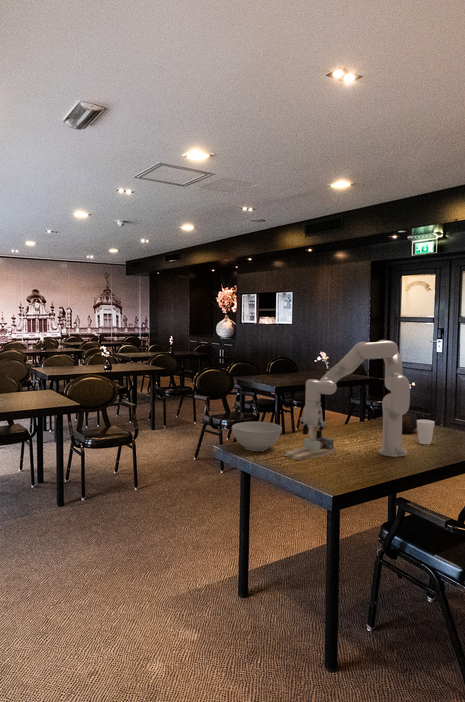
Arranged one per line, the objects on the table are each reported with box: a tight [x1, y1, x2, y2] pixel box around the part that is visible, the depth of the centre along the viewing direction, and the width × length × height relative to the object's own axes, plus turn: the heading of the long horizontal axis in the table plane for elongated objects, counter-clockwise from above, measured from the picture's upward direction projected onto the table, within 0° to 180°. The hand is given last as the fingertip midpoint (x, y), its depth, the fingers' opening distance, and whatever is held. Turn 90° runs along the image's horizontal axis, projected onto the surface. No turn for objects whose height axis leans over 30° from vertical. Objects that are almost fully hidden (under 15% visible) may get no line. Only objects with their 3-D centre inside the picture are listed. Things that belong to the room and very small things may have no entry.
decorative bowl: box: [231, 421, 283, 452], centre depth 266 cm, size 27×27×12 cm
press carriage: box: [303, 425, 320, 452], centre depth 257 cm, size 9×4×15 cm, turn 37°
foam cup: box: [416, 419, 436, 445], centre depth 280 cm, size 10×9×13 cm
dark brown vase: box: [402, 409, 419, 434], centre depth 311 cm, size 18×18×28 cm
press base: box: [282, 436, 337, 462], centre depth 256 cm, size 12×26×7 cm, turn 127°
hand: (312, 436), depth 257 cm, fingers open, 9 cm apart
